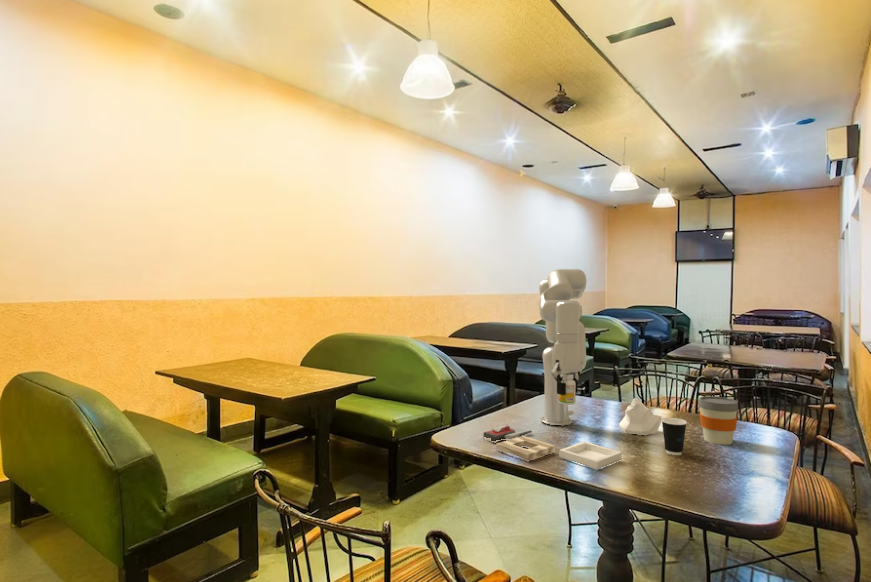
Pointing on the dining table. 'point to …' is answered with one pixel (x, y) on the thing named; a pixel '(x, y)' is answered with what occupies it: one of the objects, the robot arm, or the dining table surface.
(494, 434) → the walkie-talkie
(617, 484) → the dining table surface
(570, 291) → the robot arm
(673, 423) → the dixie cup
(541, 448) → the socket block
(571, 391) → the supplement bottle
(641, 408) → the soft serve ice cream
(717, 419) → the reusable coffee cup
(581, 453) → the tray
